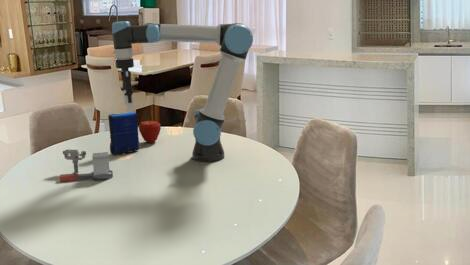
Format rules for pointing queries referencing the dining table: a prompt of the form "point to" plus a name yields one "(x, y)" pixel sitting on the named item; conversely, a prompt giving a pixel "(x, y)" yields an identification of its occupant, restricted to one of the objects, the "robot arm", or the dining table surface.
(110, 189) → the dining table surface
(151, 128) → the apple
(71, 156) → the mechanical component
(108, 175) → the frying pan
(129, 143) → the blue box
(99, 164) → the gray rectangular block
